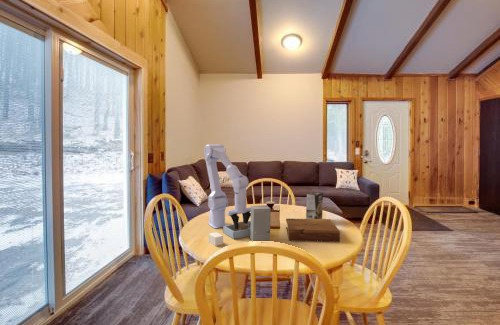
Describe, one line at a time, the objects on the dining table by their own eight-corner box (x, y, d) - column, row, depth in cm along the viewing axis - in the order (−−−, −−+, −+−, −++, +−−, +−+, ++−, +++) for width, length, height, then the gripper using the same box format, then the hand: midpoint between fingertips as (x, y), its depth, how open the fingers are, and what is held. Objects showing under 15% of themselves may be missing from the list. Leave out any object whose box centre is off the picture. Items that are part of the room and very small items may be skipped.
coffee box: (316, 224, 154) (316, 195, 152) (305, 221, 158) (306, 193, 156) (322, 220, 161) (323, 192, 159) (312, 218, 165) (312, 191, 163)
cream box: (208, 242, 127) (208, 233, 127) (216, 240, 130) (216, 232, 129) (215, 246, 123) (215, 237, 122) (223, 244, 125) (223, 235, 125)
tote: (223, 232, 140) (223, 226, 139) (253, 226, 149) (253, 220, 149) (233, 239, 130) (233, 232, 130) (265, 232, 140) (265, 225, 140)
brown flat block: (289, 242, 128) (289, 230, 128) (286, 229, 147) (285, 218, 146) (339, 242, 127) (339, 230, 127) (330, 229, 146) (330, 218, 145)
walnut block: (234, 231, 140) (234, 223, 140) (241, 230, 142) (241, 221, 142) (240, 235, 135) (240, 226, 135) (247, 233, 137) (247, 224, 137)
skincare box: (253, 243, 125) (253, 209, 124) (249, 238, 132) (249, 205, 131) (271, 242, 127) (271, 208, 126) (266, 236, 134) (266, 204, 133)
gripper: (231, 204, 130) (231, 232, 131) (257, 200, 138) (257, 227, 139) (224, 201, 136) (224, 228, 137) (249, 198, 144) (249, 223, 145)
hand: (240, 227), depth 139 cm, fingers closed on walnut block, 4 cm apart
